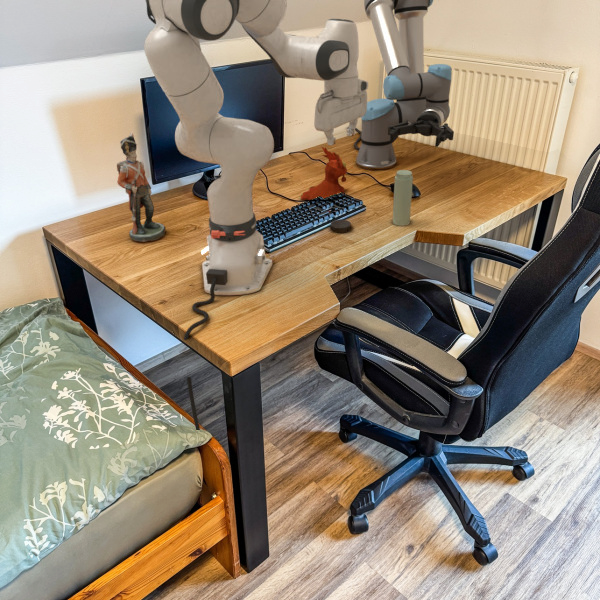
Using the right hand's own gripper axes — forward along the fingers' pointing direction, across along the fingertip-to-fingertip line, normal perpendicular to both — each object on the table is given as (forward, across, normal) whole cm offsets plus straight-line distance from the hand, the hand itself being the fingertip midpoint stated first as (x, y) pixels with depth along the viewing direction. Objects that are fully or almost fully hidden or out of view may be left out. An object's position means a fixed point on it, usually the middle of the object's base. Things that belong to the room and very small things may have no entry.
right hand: (413, 140), depth 166 cm
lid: (+20, +16, -21) cm, 33 cm away
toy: (-4, +30, -22) cm, 38 cm away
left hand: (+20, +16, +4) cm, 26 cm away
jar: (+10, 0, -22) cm, 24 cm away
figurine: (+44, +69, -22) cm, 84 cm away
